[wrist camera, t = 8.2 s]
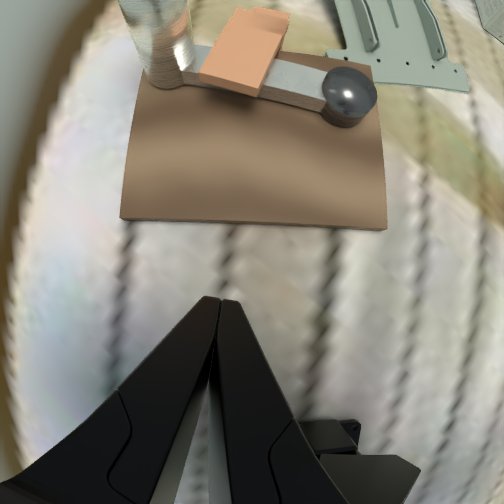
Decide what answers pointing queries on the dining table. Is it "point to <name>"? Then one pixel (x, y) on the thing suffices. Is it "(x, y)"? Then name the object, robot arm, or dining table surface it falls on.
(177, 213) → the board
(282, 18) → the block
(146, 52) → the grey cylinder with bar
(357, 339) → the dining table surface
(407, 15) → the metal bracket
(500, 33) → the small box
